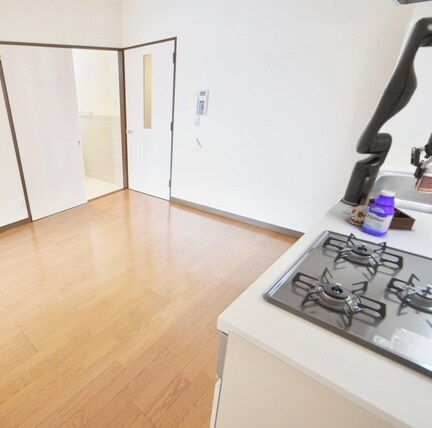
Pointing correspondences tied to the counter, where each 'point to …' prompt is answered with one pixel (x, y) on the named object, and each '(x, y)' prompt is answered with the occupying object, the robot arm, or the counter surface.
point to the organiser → (395, 217)
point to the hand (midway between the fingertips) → (428, 178)
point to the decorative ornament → (360, 212)
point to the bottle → (380, 214)
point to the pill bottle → (424, 181)
